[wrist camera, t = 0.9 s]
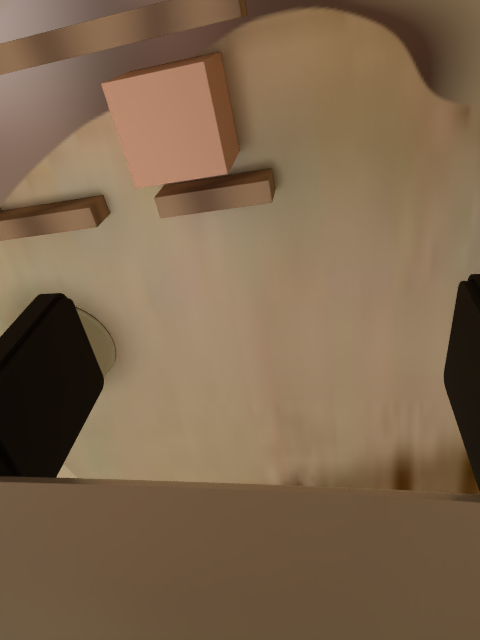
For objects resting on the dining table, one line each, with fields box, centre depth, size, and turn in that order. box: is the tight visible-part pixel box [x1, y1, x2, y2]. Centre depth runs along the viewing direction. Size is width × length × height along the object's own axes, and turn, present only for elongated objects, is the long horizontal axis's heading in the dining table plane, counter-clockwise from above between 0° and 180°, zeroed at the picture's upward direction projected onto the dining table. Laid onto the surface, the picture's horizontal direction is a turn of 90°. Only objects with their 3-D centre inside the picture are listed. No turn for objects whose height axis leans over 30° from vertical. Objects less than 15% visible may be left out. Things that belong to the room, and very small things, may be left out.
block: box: [101, 52, 239, 188], centre depth 28 cm, size 6×6×5 cm
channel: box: [0, 0, 275, 241], centre depth 30 cm, size 24×12×4 cm, turn 102°
